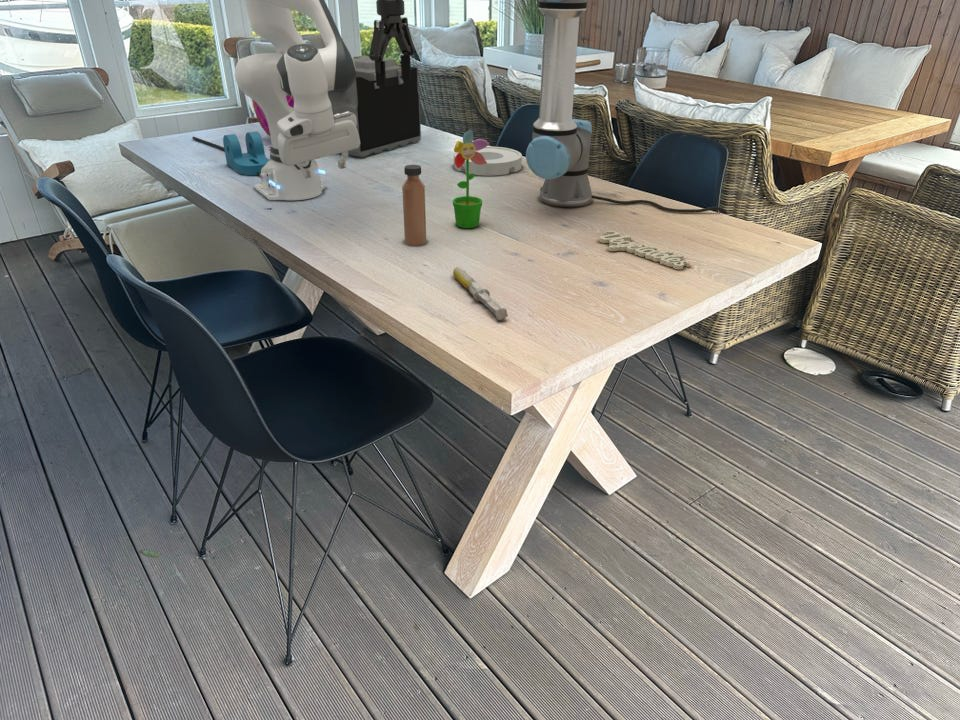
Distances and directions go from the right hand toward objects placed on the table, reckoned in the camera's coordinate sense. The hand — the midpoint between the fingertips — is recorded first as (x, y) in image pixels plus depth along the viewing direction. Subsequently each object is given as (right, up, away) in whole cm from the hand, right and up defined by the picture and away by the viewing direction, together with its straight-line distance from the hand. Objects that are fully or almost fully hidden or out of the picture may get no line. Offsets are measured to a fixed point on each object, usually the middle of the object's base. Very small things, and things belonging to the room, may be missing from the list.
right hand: (394, 83), depth 195 cm
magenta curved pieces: (-51, +6, +69) cm, 86 cm away
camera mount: (-52, -15, +34) cm, 64 cm away
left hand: (-15, -31, -21) cm, 41 cm away
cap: (+8, -33, -32) cm, 47 cm away
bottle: (+8, -49, -23) cm, 55 cm away
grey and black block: (-16, +2, +63) cm, 65 cm away
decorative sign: (+63, -53, -28) cm, 87 cm away
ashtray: (+27, -13, +39) cm, 49 cm away
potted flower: (+21, -43, -12) cm, 49 cm away
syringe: (+24, -66, -50) cm, 86 cm away
